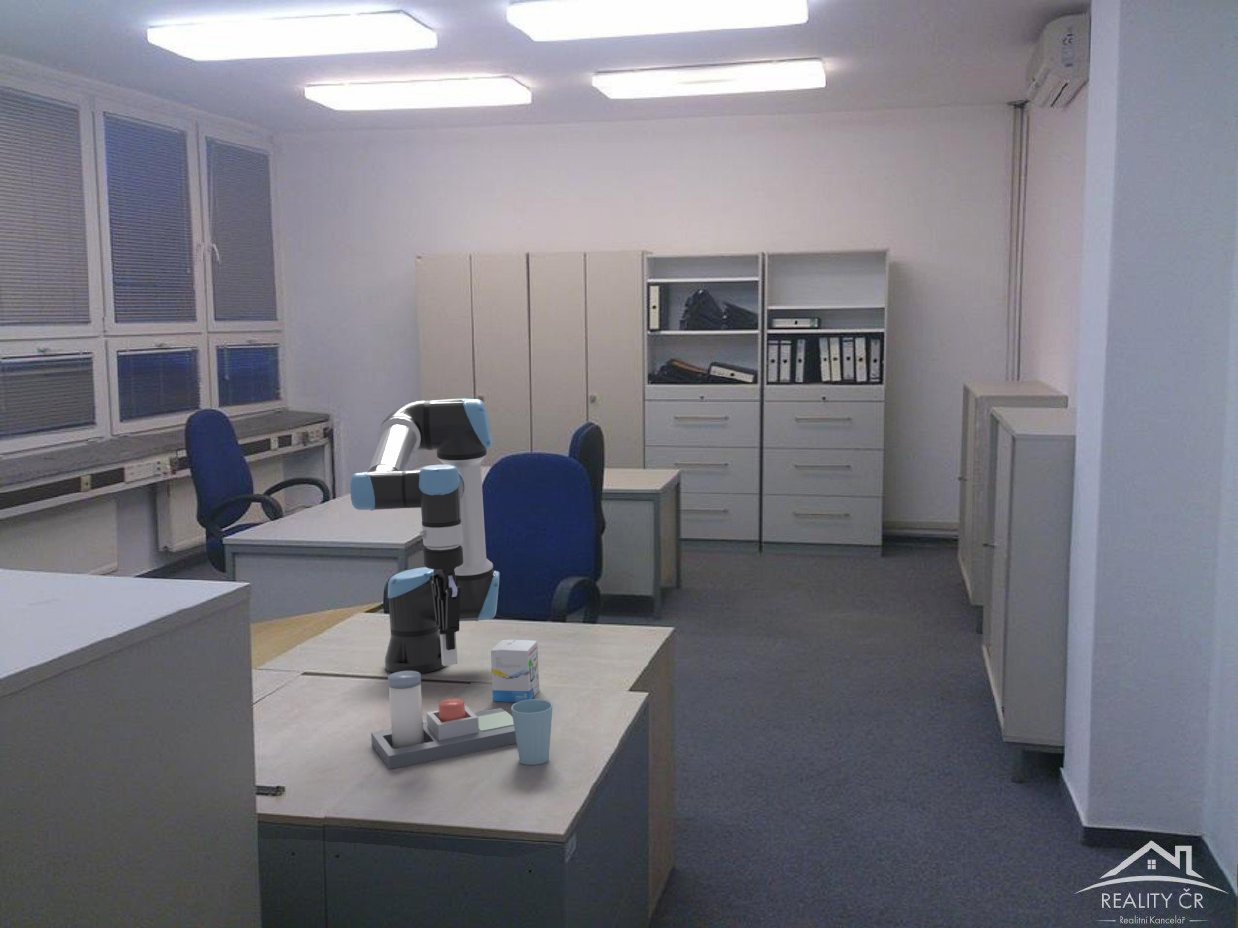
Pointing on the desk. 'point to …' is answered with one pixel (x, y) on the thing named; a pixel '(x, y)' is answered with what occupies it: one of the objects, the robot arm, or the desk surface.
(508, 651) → the ink box
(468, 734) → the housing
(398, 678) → the cartridge
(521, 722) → the cup
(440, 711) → the plunger
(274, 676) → the desk surface
